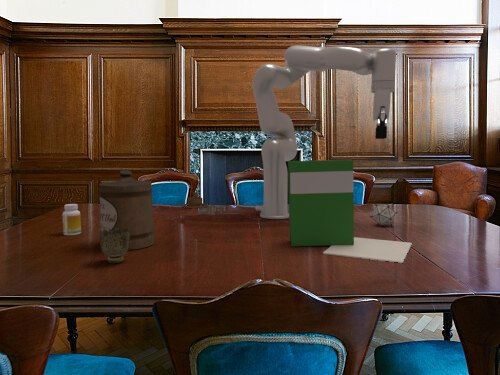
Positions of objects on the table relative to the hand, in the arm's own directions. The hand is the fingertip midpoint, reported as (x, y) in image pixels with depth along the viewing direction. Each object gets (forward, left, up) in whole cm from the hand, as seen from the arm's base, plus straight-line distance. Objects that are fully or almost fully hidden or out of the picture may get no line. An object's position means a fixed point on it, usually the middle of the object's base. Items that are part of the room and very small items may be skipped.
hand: (380, 138), depth 140 cm
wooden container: (-61, -57, -31) cm, 89 cm away
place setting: (-86, +17, -32) cm, 93 cm away
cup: (-51, -72, -31) cm, 94 cm away
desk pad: (+3, -31, -31) cm, 44 cm away
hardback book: (-11, -31, -31) cm, 45 cm away
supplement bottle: (-88, -54, -31) cm, 108 cm away
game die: (+1, +5, -31) cm, 31 cm away
